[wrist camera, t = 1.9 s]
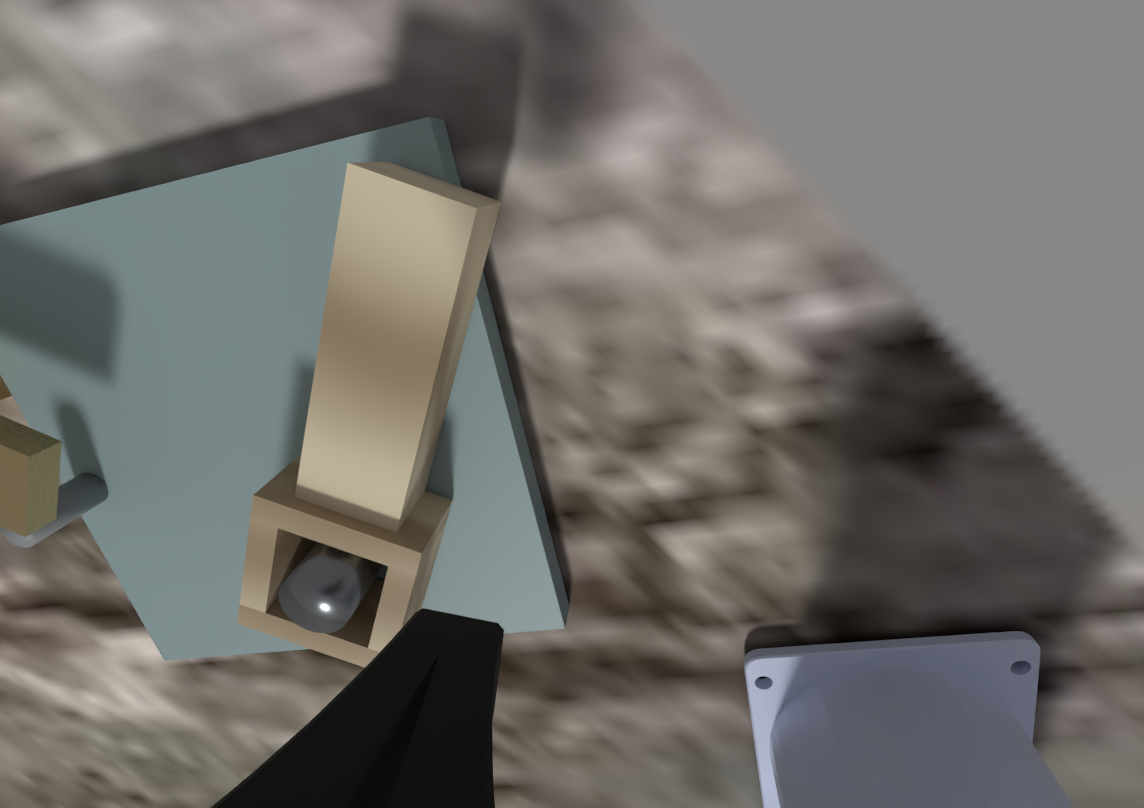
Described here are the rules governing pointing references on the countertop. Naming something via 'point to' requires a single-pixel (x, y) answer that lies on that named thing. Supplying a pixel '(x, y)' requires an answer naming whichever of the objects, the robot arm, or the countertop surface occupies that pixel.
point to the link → (375, 405)
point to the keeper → (27, 475)
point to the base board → (241, 389)
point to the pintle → (326, 588)
